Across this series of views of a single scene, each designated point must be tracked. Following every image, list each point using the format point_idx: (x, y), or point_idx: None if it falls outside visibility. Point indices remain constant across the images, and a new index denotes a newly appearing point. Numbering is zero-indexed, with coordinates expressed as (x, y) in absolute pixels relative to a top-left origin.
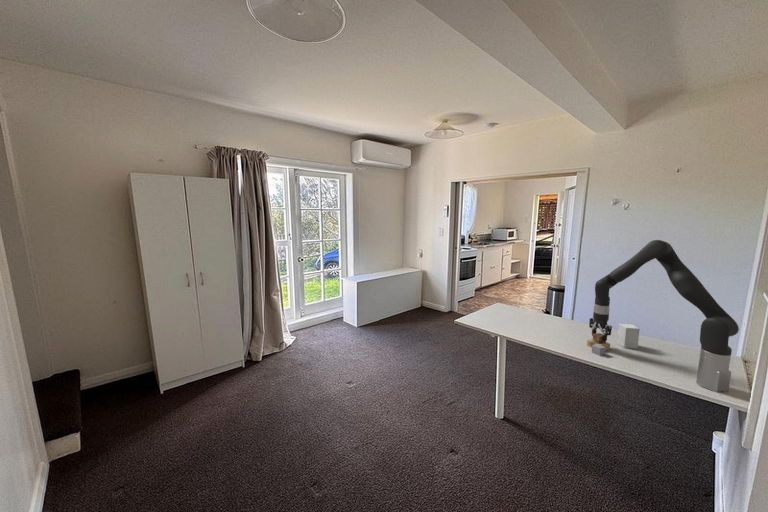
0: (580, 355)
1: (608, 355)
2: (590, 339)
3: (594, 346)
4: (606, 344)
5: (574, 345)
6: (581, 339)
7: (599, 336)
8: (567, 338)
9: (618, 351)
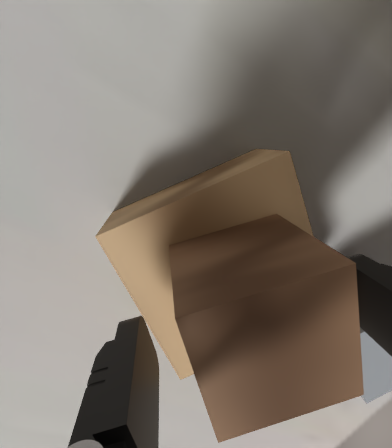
0: (360, 421)
1: (380, 236)
2: (159, 342)
3: (388, 388)
4: (307, 217)
5: (190, 416)
6: (11, 323)
7: (359, 388)
8: (26, 431)
9: (303, 73)
